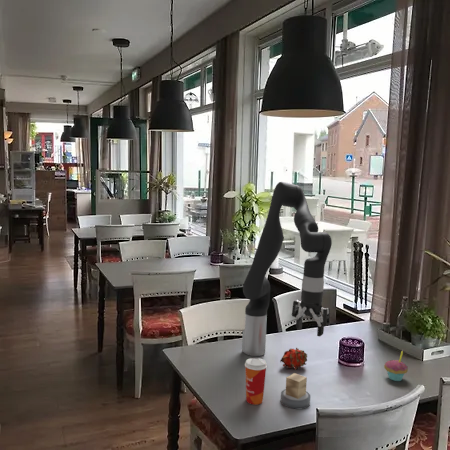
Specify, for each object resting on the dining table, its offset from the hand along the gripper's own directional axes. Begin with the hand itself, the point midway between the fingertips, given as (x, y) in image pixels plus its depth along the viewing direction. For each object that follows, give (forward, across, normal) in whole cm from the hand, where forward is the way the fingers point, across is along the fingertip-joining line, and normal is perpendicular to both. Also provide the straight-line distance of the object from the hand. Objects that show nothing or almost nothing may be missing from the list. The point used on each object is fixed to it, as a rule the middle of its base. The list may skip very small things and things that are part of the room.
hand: (309, 332), depth 175 cm
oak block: (+19, -3, +10) cm, 22 cm away
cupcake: (+21, -19, -34) cm, 44 cm away
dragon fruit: (+22, +14, -13) cm, 29 cm away
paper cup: (+22, +7, +20) cm, 30 cm away
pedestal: (+21, -3, +10) cm, 24 cm away
